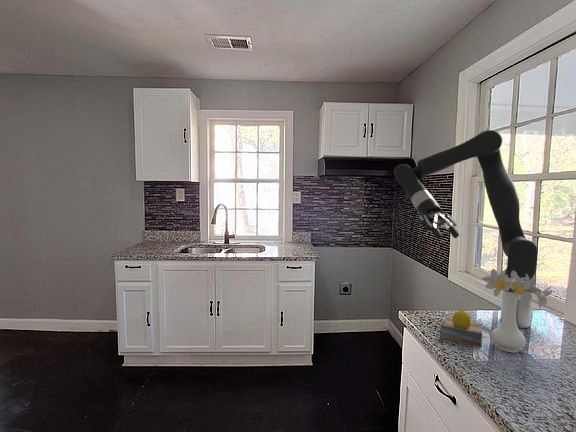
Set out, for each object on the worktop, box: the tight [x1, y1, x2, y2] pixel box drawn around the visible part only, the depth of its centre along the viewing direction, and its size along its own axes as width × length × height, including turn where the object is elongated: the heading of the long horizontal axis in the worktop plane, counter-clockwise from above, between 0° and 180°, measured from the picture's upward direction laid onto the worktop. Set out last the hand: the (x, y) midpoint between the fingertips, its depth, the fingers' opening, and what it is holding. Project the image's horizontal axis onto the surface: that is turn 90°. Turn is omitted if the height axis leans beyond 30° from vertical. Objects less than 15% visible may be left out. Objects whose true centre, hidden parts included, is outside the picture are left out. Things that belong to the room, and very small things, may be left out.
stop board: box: [440, 316, 483, 348], centre depth 118 cm, size 18×12×4 cm, turn 150°
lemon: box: [452, 309, 471, 329], centre depth 114 cm, size 6×6×8 cm
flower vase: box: [482, 268, 553, 354], centre depth 105 cm, size 13×18×25 cm
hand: (448, 237), depth 119 cm, fingers open, 8 cm apart
